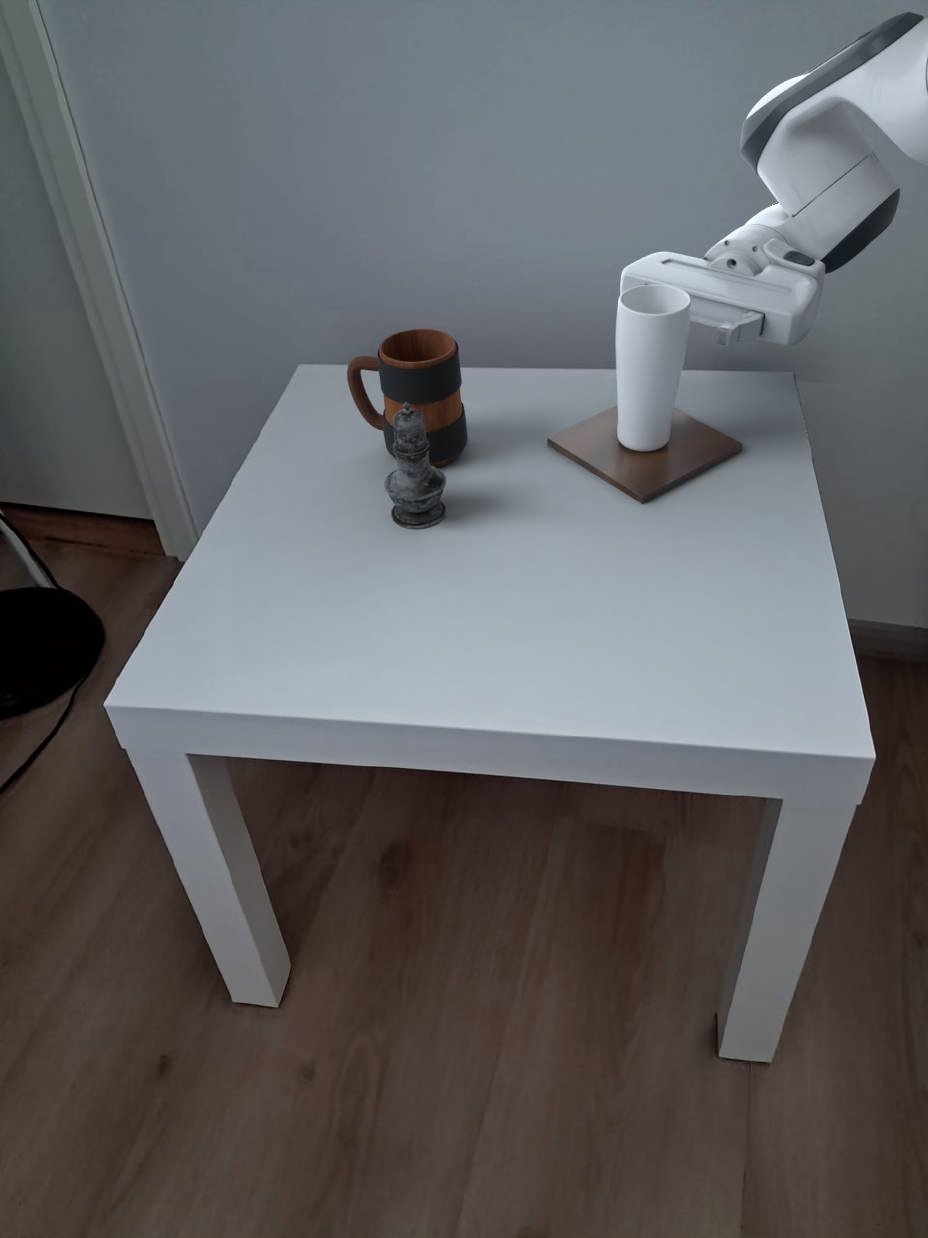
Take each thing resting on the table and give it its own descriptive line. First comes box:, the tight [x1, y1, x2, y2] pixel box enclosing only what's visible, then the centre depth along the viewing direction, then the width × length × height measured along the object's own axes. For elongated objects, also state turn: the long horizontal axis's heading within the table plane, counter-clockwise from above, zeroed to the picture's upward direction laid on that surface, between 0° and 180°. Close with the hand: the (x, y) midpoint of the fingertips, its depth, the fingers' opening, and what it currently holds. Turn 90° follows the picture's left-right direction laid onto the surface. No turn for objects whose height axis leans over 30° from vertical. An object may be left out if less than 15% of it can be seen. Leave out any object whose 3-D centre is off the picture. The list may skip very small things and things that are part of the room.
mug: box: [346, 328, 469, 468], centre depth 95 cm, size 9×12×12 cm
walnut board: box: [546, 404, 744, 505], centre depth 96 cm, size 14×14×1 cm
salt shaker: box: [383, 402, 447, 530], centre depth 86 cm, size 6×6×12 cm
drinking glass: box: [614, 284, 691, 452], centre depth 91 cm, size 7×7×15 cm
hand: (679, 326), depth 92 cm, fingers open, 8 cm apart
